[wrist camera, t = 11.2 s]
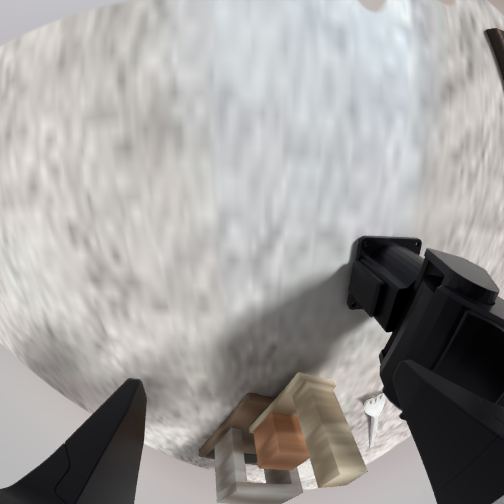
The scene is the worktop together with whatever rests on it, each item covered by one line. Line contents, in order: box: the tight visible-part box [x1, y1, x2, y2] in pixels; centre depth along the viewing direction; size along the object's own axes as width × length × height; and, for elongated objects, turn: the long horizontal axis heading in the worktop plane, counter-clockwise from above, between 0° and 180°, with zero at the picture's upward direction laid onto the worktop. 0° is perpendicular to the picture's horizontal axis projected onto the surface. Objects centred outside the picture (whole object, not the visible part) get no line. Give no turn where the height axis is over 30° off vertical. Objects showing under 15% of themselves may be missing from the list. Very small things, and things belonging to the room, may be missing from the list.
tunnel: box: [199, 393, 303, 504], centre depth 24 cm, size 14×9×9 cm, turn 152°
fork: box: [364, 393, 385, 448], centre depth 31 cm, size 3×20×2 cm, turn 17°
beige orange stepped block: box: [249, 372, 368, 488], centre depth 20 cm, size 10×4×11 cm, turn 152°
